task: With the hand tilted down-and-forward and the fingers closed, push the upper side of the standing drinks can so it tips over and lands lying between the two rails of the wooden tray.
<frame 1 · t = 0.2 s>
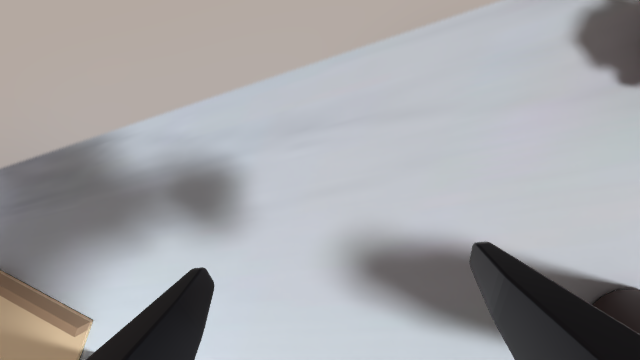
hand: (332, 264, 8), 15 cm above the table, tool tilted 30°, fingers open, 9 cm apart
wooden tray: (26, 342, 28), on the table
bottle: (626, 328, 20), on the table
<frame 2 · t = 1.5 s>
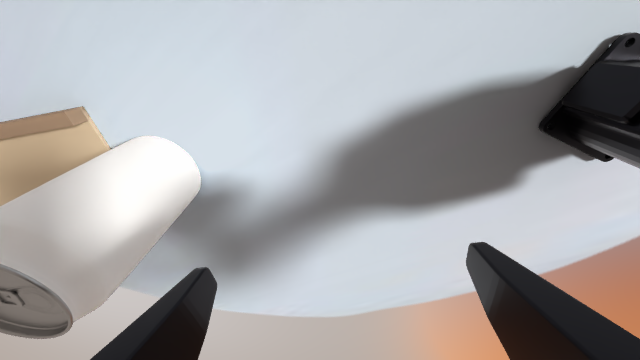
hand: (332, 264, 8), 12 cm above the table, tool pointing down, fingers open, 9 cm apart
wooden tray: (59, 186, 22), on the table
can: (166, 168, 21), on the table
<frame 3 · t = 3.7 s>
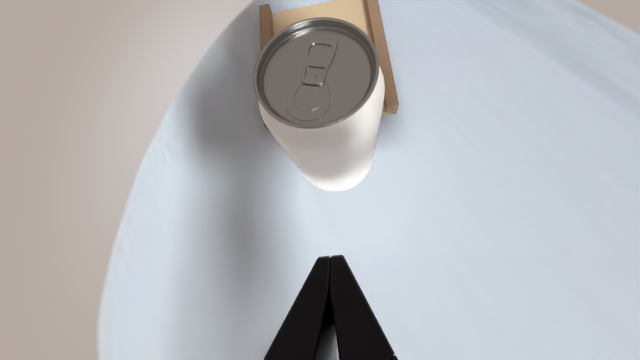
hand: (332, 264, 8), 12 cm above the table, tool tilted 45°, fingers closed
wooden tray: (323, 60, 25), on the table
can: (336, 158, 22), on the table
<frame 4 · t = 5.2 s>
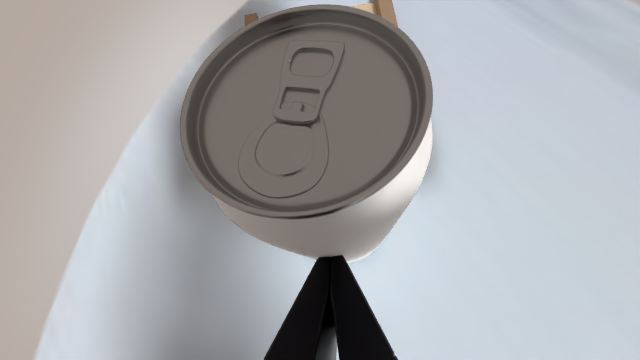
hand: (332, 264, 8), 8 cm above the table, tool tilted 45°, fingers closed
wooden tray: (324, 84, 20), on the table
can: (339, 214, 17), on the table, touching gripper
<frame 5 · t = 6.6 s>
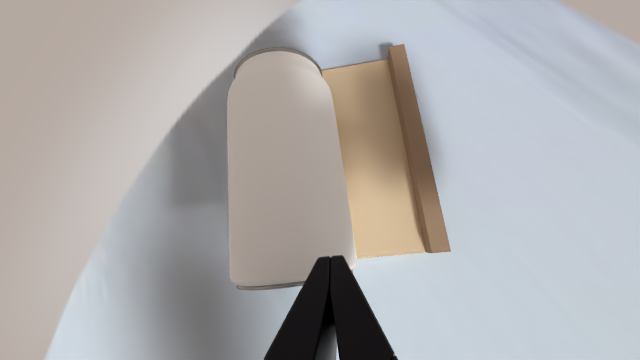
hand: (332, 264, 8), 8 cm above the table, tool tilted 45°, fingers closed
wooden tray: (331, 156, 17), on the table
can: (297, 282, 13), point 3 cm above the table, touching wooden tray
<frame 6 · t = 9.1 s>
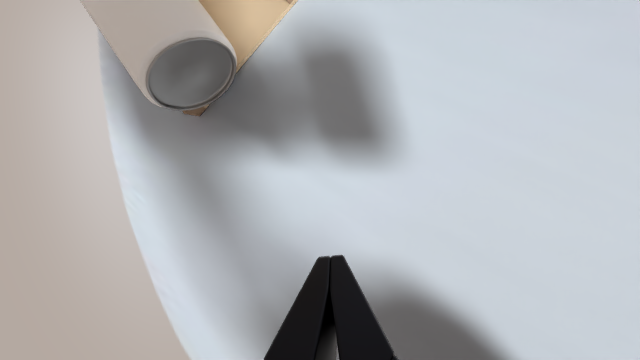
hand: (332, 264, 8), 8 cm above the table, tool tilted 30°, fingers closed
can: (198, 81, 16), point 3 cm above the table, touching wooden tray
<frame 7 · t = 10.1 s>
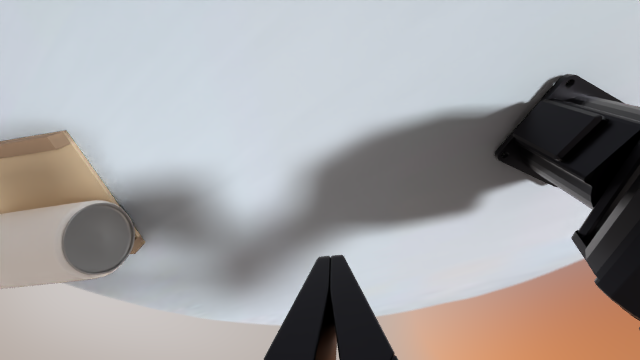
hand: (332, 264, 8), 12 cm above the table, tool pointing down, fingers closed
wooden tray: (44, 202, 23), on the table
can: (106, 237, 20), point 3 cm above the table, touching wooden tray
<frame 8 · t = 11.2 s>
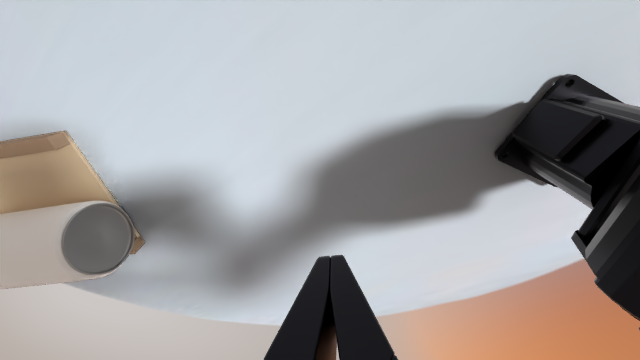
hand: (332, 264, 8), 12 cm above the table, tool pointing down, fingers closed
wooden tray: (44, 202, 23), on the table
can: (106, 237, 20), point 3 cm above the table, touching wooden tray
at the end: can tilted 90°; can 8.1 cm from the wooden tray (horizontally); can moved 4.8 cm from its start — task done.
